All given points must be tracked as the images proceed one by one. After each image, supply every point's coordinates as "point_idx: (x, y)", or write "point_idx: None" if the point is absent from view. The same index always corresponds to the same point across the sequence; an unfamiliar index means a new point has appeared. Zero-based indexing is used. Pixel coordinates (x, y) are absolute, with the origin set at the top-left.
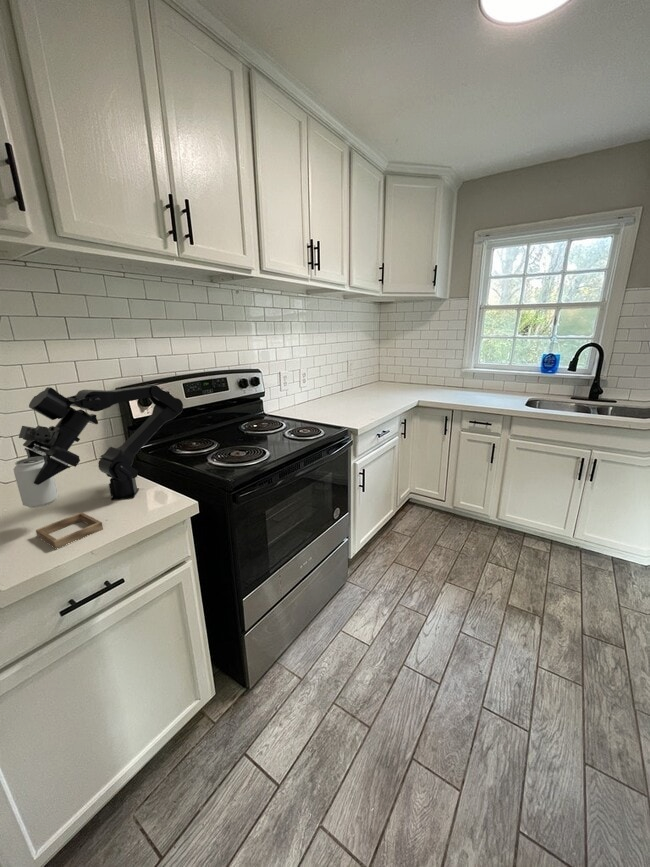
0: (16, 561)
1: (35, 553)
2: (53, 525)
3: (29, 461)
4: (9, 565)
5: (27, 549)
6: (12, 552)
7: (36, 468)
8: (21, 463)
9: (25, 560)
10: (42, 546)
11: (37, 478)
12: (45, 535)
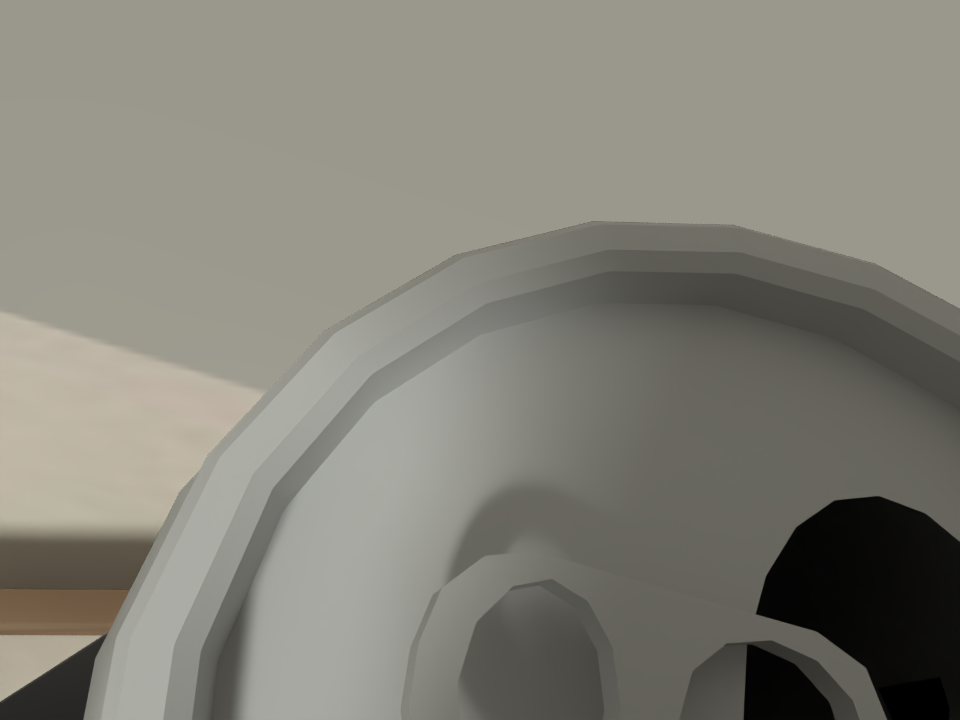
0: (77, 382)
1: (45, 490)
2: None
3: (689, 637)
4: (74, 344)
5: (173, 482)
6: (239, 412)
7: (104, 675)
8: (837, 435)
9: (23, 416)
10: (98, 563)
11: (105, 635)
12: (87, 595)
